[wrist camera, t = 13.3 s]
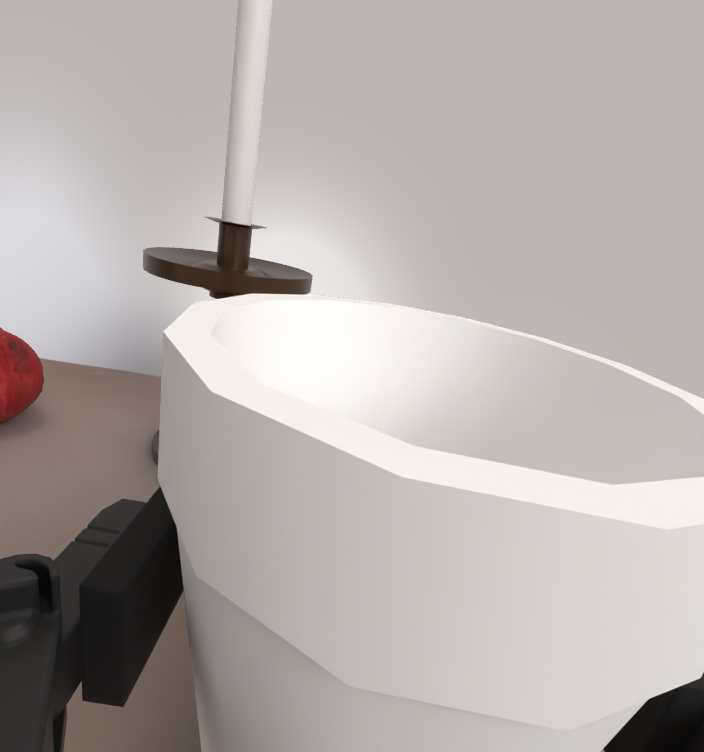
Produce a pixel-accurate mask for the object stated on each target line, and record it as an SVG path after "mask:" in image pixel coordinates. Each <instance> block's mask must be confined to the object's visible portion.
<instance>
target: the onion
mask: <svg viewBox="0 0 704 752" xmlns="http://www.w3.org/2000/svg"><path fill="white" fill-rule="evenodd" d="M43 382H44V377H43V367H42V364H41V362H40V359H39V357H38V356H37V354H36V353H35V351H34V350H33V349H32V348H31V347H30V346H29V345H28V344H27V343H26V342H24V341H23V340H22V339H20V338H18V337H17V336H15V335H12V334H11V333H8V332H6V331H4V330H3V329H2V328H0V423H2V422H4V421H6V420H8V419H10V418H12V417H13V416H15V415H17V414H19V413H21V412H22V411H23V410H25V409H26V408H27V407H28V406H29V405H31V404H32V403H33V402H34V401H35V400H36V399H37V397H38V396H39V394H40V393H41V392H42V387H43Z"/></svg>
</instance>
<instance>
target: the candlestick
mask: <svg viewBox="0 0 704 752" xmlns="http://www.w3.org/2000/svg"><path fill="white" fill-rule="evenodd" d="M272 4H273V0H239V2H238V14H237V26H236V39H235V53H234V65H233V78H232V91H231V105H230V118H229V131H228V142H227V156H226V168H225V182H224V195H223V207H222V208H223V209H222V219H218V218H212V217H206V218H208V219H211V220H213V221H216V222H218V223H220V224H219V239H218V251H217V252H212V251H203V250H194V249H183V248H164V247H163V248H162V247H157V248H147V249H145V250H144V251H143V268H144V270H145V271H147V272H149V273H150V274H153V275H156V276H158V277H161V278H165V279H168V280H171V281H175V282H179V283H183V284H187V285H192V286H197V287H203V288H205V289H206V290H209V291H210V294H209V295H210V296H211V297H213V298H215V299H221V298H228V297H234V296H240V295H246V294H295V295H305V294H308V293H309V292H310V290H311V283H312V275H311V274H310V273H308V272H306V271H304V270H300V269H298V268H294V267H291V266H287V265H283V264H279V263H275V262H270V261H265V260H260V259H255V258H250V257H249V254H250V243H251V234H252V229H259V228H266V227H262V226H257V225H252V224H251V217H252V207H253V198H254V187H255V177H256V167H257V157H258V146H259V137H260V126H261V116H262V106H263V96H264V86H265V75H266V65H267V55H268V45H269V35H270V25H271V13H272ZM158 452H159V430H158V432H157V433H156V434H155V436H154V439H153V451H152V453H153V458H154V461H155V462H156V464H157V465H158Z"/></svg>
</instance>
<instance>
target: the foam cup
mask: <svg viewBox="0 0 704 752" xmlns="http://www.w3.org/2000/svg"><path fill="white" fill-rule="evenodd" d="M157 479H158V481H159V484H160V486H161V489H162V491H163V494H164V496H165V499H166V501H167V504H168V506H169V509H170V511H171V514H172V516H173V519H174V521H175V524H176V526H177V534H178V543H179V552H180V561H181V570H182V579H183V588H184V597H185V606H186V615H187V624H188V633H189V643H190V652H191V661H192V670H193V679H194V688H195V697H196V706H197V715H198V724H199V733H200V742H201V751H202V752H601V750H602V749H603V748H604V747H605V746H606V745H607V744H608V743H609V742H610V741H611V740H612V738H613V737H614V736H615V735H616V734H617V733H618V732H619V731H620V730H621V729H622V727H623V726H624V725H625V724H626V723H627V722H628V721H629V720H630V719H631V718H632V717H633V715H634V714H635V713H636V712H637V711H638V710H639V709H640V708H641V707H642V706H643V704H644V703H645V702H646V701H647V700H648V699H650V698H652V697H655V696H657V695H660V694H662V693H665V692H667V691H670V690H672V689H675V688H677V687H680V686H682V685H685V684H687V683H690V682H692V681H695V680H697V679H700V678H701V676H702V675H703V673H704V399H702V398H700V397H698V396H695V395H693V394H691V393H689V392H686V391H684V390H682V389H679V388H677V387H675V386H672V385H670V384H668V383H665V382H663V381H661V380H659V379H656V378H654V377H652V376H649V375H647V374H644V373H643V372H640V371H638V370H635V369H633V368H631V367H629V366H626V365H623V364H620V363H617V362H614V361H611V360H608V359H605V358H602V357H599V356H596V355H593V354H590V353H587V352H584V351H581V350H578V349H575V348H572V347H569V346H566V345H562V344H560V343H557V342H554V341H551V340H547V339H545V338H541V337H538V336H534V335H530V334H526V333H522V332H518V331H514V330H511V329H507V328H503V327H499V326H495V325H491V324H487V323H483V322H479V321H475V320H471V319H468V318H464V317H458V316H453V315H448V314H443V313H438V312H432V311H427V310H422V309H416V308H411V307H406V306H401V305H396V304H390V303H382V302H374V301H365V300H356V299H348V298H340V297H331V296H324V295H295V294H246V295H240V296H234V297H228V298H221V299H215V300H209V301H203V302H197V303H193V304H192V305H191V306H190V307H189V308H188V309H187V310H186V311H185V312H184V313H182V314H181V315H180V316H179V317H178V318H177V319H176V320H175V321H174V322H173V323H172V324H171V325H170V326H169V327H168V328H167V329H166V330H164V332H163V352H162V377H161V402H160V427H159V452H158V477H157Z"/></svg>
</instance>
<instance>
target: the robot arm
mask: <svg viewBox="0 0 704 752" xmlns="http://www.w3.org/2000/svg"><path fill="white" fill-rule="evenodd" d="M183 590H184V588H183V579H182V570H181V561H180V552H179V543H178V534H177V526H176V524H175V521H174V519H173V516H172V514H171V511H170V509H169V506H168V504H167V501H166V499H165V496H164V494H163V491H162V489H161V486H160V487H159V488H158V490H157V491H156V492H155V493H154V495H153V496H152V497H151V498H150V500H149V501H148V502H147V503H145V502H139V501H133V500H127V499H122V500H120V501H118V502H116V503H114V504H112V505H111V506H109V507H107V508H105V509H103V510H102V511H101V512H100V513H99V514H98V515H97V516H96V517H95V518H94V519H93V520H92V521H91V522H90V523H89V525H88V527H87V529H84V530H83V531H82V532H81V533H80V534H79V535H78V536H77V537H76V538H75V541H74V542H73V541H72V542H71V543H70V544H69V546H68V547H67V548H66V549H65V550H64V551H63V552H62V553H61V554H60V555H59V556H58V557H57V558H56V559H55V560H54V561H53V560H52V559H51V558H50V557H46V556H42V555H38V554H21V555H15V556H11V557H7V558H3V559H0V752H63V748H64V739H65V729H66V720H67V713H66V704H67V703H68V701H69V700H70V698H71V696H72V695H73V693H74V692H75V690H76V689H77V687H78V685H79V684H80V682H81V681H82V698H83V701H88V702H95V703H101V704H107V705H113V706H120V707H124V705H125V703H126V701H127V699H128V697H129V695H130V693H131V691H132V689H133V687H134V685H135V683H136V682H137V680H138V678H139V676H140V674H141V672H142V670H143V668H144V666H145V664H146V662H147V660H148V658H149V656H150V654H151V652H152V650H153V648H154V647H155V645H156V643H157V641H158V639H159V637H160V635H161V633H162V631H163V629H164V627H165V625H166V623H167V621H168V619H169V617H170V615H171V613H172V612H173V610H174V608H175V606H176V604H177V602H178V600H179V598H180V596H181V594H182V592H183ZM603 749H604V751H605V752H704V673H703V675H702V676H701V678H700V679H697V680H695V681H692V682H690V683H687V684H685V685H682V686H680V687H677V688H675V689H672V690H670V691H667V692H665V693H662V694H660V695H657V696H655V697H652V698H650V699H648V700H647V701H646V702H645V703H644V704H643V706H642V707H641V708H640V709H639V710H638V711H637V712H636V713H635V714H634V715H633V717H632V718H631V719H630V720H629V721H628V722H627V723H626V724H625V725H624V726H623V727H622V729H621V730H620V731H619V732H618V733H617V734H616V735H615V736H614V737H613V738H612V740H611V741H610V742H609V743H608V744H607V745H606V746H605V747H604V748H603Z"/></svg>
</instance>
